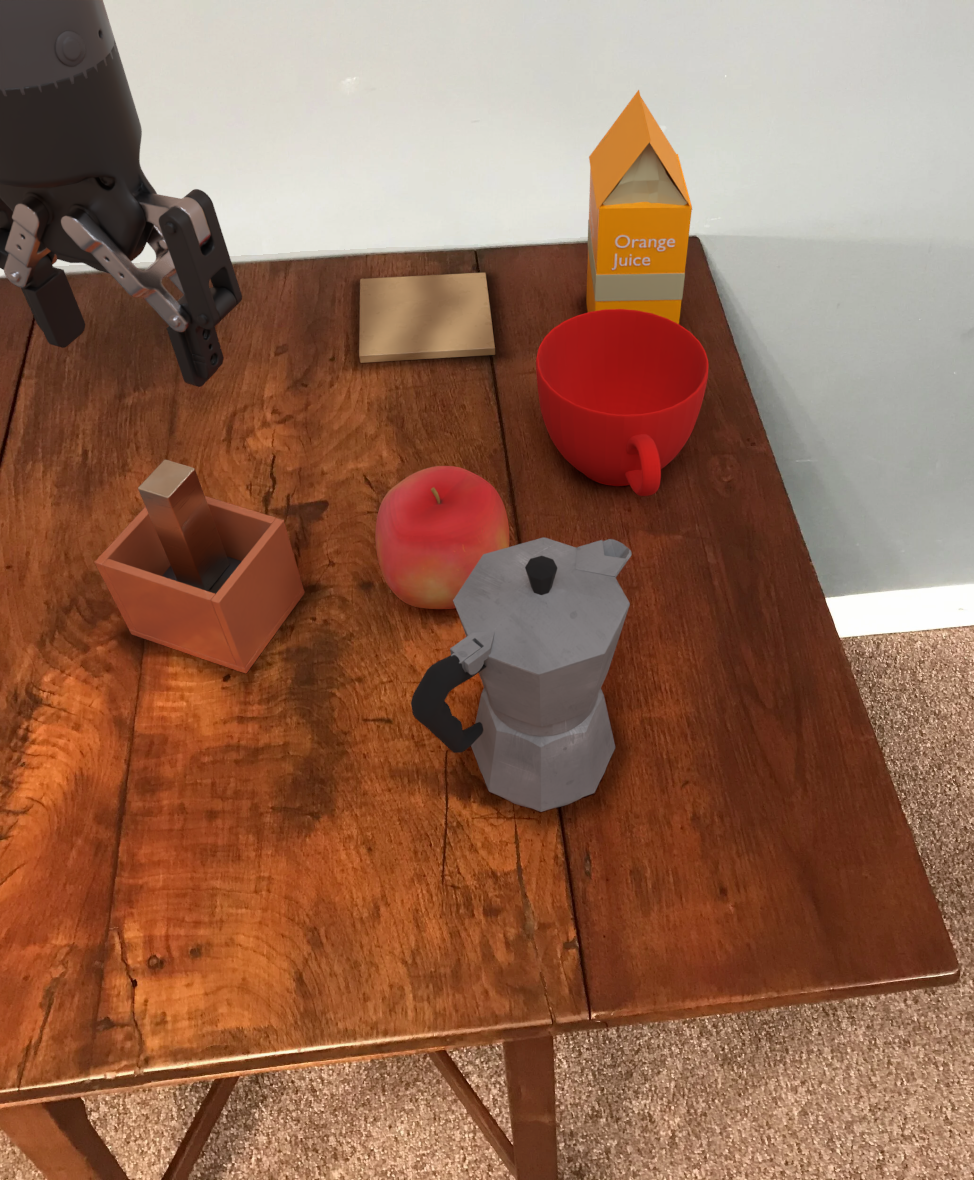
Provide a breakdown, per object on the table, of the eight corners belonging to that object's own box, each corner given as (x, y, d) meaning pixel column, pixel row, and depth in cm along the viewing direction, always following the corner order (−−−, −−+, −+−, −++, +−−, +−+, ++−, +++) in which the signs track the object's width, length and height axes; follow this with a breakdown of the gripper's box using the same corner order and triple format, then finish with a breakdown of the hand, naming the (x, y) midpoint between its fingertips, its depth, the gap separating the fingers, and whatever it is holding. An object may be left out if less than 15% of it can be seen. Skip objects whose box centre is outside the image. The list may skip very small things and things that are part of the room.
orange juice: (665, 299, 99) (685, 88, 83) (676, 356, 93) (701, 140, 78) (584, 301, 98) (590, 88, 83) (591, 358, 92) (598, 141, 77)
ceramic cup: (560, 562, 77) (561, 463, 69) (525, 415, 87) (523, 315, 79) (727, 540, 78) (746, 442, 71) (673, 399, 89) (684, 301, 81)
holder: (130, 634, 71) (93, 561, 65) (195, 557, 76) (166, 483, 70) (246, 674, 69) (218, 602, 63) (305, 592, 74) (284, 519, 68)
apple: (535, 563, 76) (534, 464, 69) (479, 658, 71) (470, 562, 63) (420, 526, 78) (406, 426, 71) (357, 615, 73) (334, 516, 65)
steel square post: (169, 618, 71) (109, 487, 62) (202, 577, 74) (149, 446, 64) (233, 639, 70) (183, 510, 61) (265, 598, 73) (221, 467, 63)
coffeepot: (565, 649, 71) (569, 458, 57) (665, 733, 67) (695, 548, 53) (388, 787, 64) (344, 605, 50) (489, 889, 60) (470, 722, 46)
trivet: (360, 363, 91) (359, 355, 90) (361, 285, 99) (360, 278, 98) (495, 355, 92) (495, 347, 92) (485, 279, 100) (485, 272, 99)
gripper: (216, 37, 44) (288, 350, 56) (-56, -21, 46) (70, 289, 59) (104, 113, 39) (209, 435, 51) (-191, 43, 42) (-23, 365, 54)
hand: (135, 357), depth 55 cm, fingers open, 8 cm apart
